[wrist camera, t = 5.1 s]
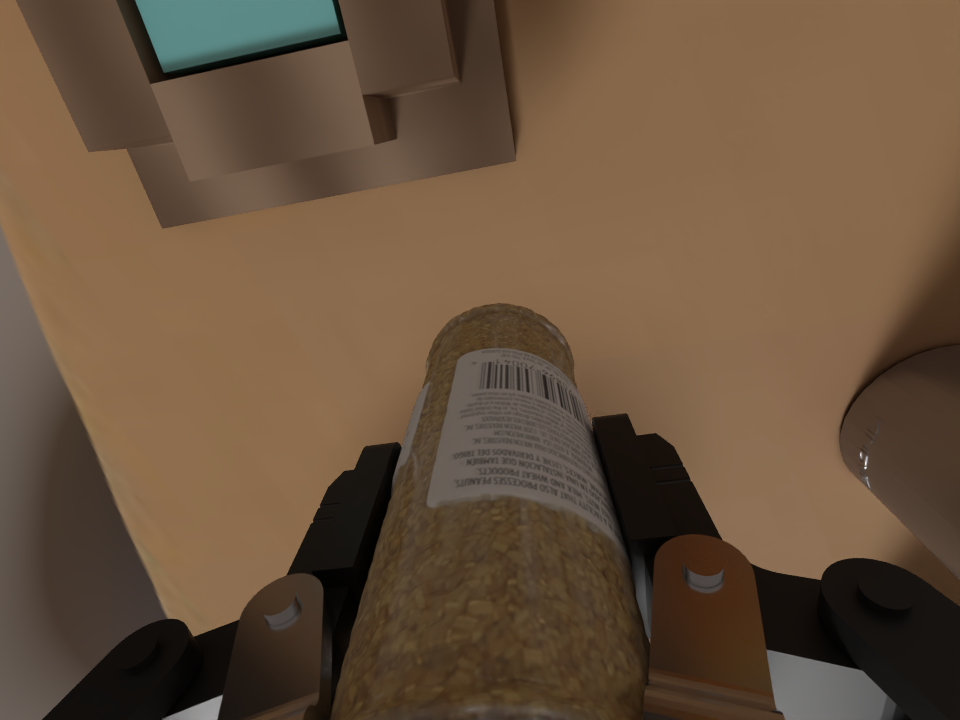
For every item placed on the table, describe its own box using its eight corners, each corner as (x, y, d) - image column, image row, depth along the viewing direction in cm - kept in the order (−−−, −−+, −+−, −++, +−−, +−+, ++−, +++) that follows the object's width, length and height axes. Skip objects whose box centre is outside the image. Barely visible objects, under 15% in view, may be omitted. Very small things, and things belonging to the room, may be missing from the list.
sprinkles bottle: (399, 374, 16) (65, 1187, 4) (493, 266, 14) (431, 1085, 2) (509, 453, 17) (521, 1281, 5) (607, 361, 15) (986, 1254, 3)
